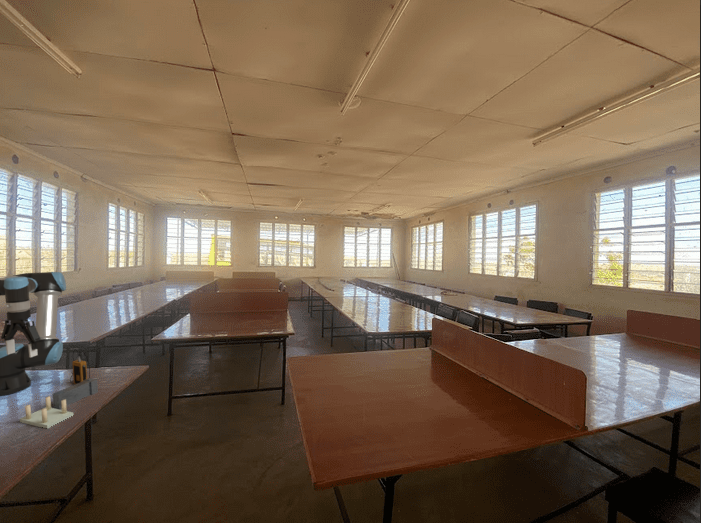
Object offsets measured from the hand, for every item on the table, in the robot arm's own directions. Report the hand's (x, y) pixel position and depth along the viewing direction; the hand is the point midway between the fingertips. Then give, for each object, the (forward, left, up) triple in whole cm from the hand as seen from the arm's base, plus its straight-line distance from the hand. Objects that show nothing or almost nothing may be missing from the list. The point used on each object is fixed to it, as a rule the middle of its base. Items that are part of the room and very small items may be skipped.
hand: (22, 354), depth 144 cm
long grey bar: (+13, +13, -27) cm, 32 cm away
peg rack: (+19, -3, -27) cm, 32 cm away
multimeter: (-2, +28, -27) cm, 39 cm away
